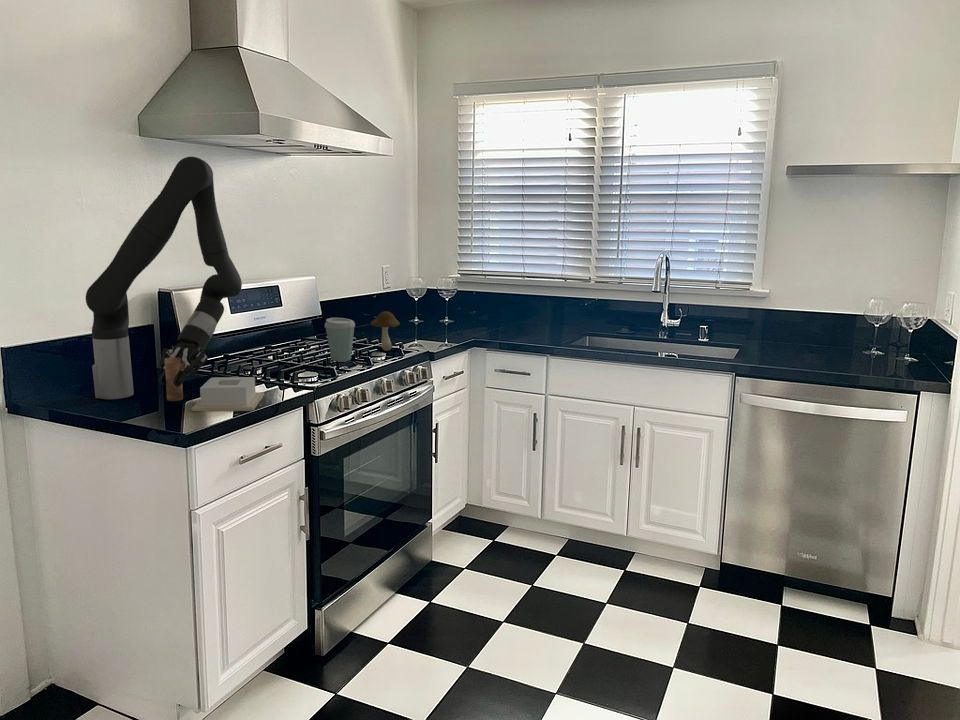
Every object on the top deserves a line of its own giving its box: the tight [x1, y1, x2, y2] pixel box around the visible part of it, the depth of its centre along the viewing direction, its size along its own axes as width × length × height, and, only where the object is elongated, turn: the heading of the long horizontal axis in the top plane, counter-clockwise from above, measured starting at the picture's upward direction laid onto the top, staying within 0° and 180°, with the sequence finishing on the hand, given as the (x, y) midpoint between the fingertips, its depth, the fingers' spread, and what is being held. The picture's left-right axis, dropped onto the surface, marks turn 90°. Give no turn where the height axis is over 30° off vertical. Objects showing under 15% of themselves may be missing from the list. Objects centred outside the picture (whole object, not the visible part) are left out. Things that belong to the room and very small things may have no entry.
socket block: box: [191, 376, 265, 412], centre depth 209 cm, size 16×16×6 cm
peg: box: [165, 357, 184, 402], centre depth 200 cm, size 4×4×11 cm
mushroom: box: [370, 310, 401, 352], centre depth 282 cm, size 9×11×15 cm
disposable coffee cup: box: [324, 317, 356, 363], centre depth 263 cm, size 11×11×15 cm
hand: (169, 384), depth 198 cm, fingers closed on peg, 4 cm apart
